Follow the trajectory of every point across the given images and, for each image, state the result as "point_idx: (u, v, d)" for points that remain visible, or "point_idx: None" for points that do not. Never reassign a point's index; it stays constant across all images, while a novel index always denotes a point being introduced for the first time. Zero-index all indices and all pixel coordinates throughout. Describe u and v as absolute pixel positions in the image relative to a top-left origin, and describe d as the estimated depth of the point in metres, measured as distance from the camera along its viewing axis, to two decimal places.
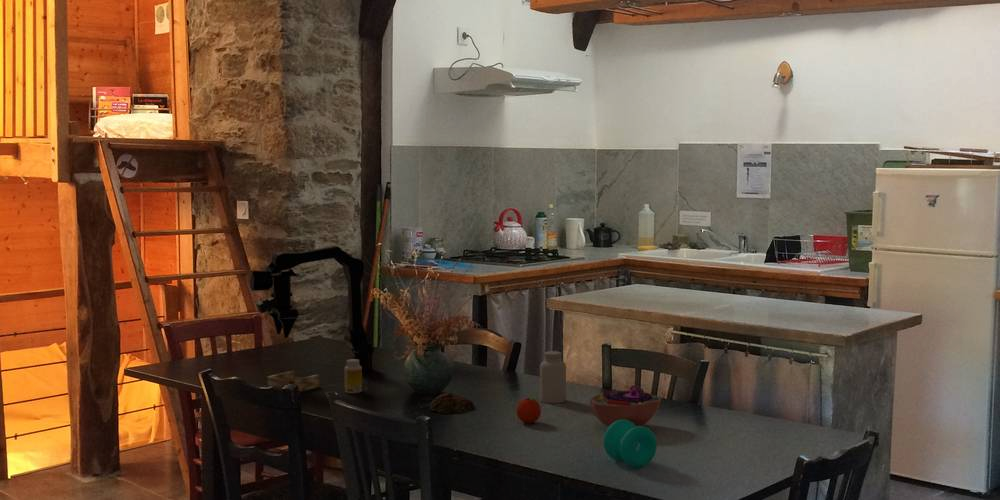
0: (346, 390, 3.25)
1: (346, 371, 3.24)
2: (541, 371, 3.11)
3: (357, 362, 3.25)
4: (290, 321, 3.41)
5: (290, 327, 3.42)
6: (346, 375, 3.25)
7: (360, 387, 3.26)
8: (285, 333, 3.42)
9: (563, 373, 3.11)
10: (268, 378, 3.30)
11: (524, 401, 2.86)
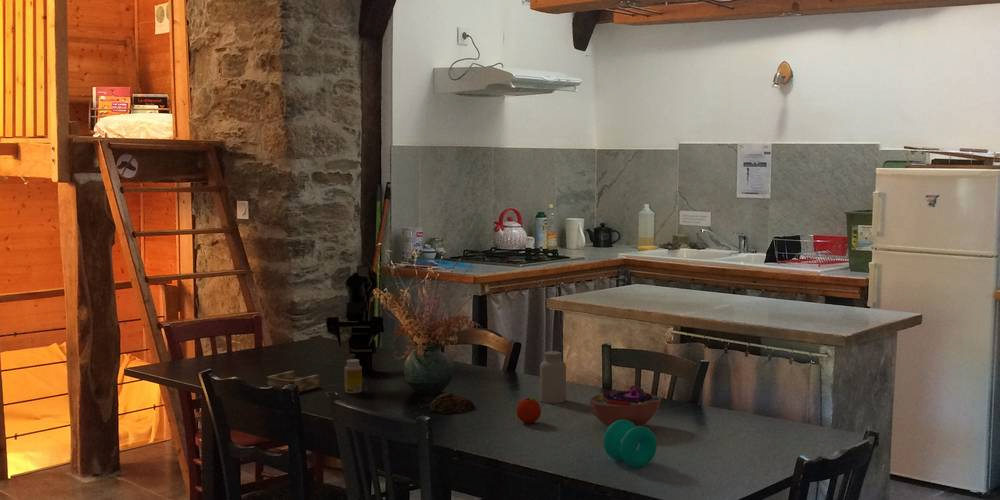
0: (346, 390, 3.25)
1: (346, 371, 3.24)
2: (541, 371, 3.11)
3: (357, 362, 3.25)
4: (373, 333, 3.39)
5: (372, 338, 3.37)
6: (346, 375, 3.25)
7: (360, 387, 3.26)
8: (370, 341, 3.35)
9: (563, 373, 3.11)
10: (268, 378, 3.30)
11: (524, 401, 2.86)
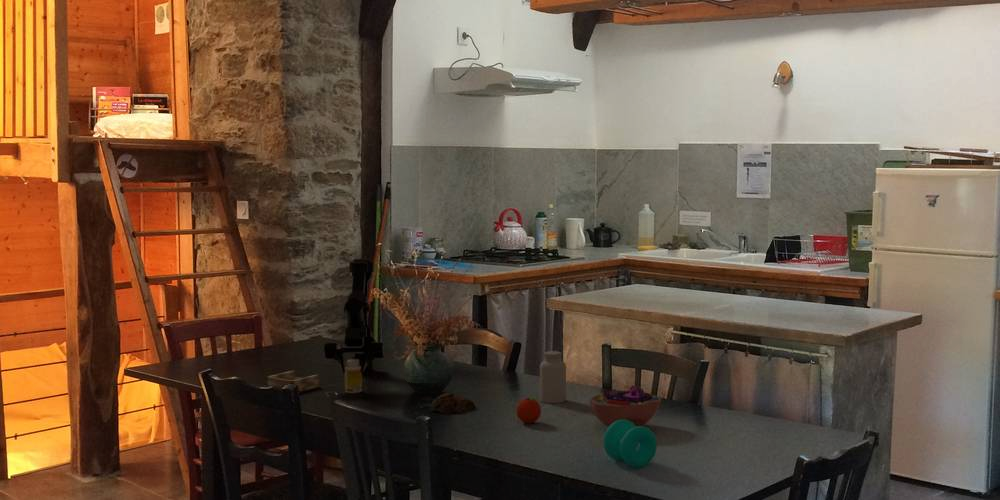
0: (346, 390, 3.25)
1: (346, 371, 3.24)
2: (541, 371, 3.11)
3: (357, 362, 3.25)
4: (367, 359, 3.30)
5: (366, 364, 3.29)
6: (346, 375, 3.25)
7: (360, 387, 3.26)
8: (364, 367, 3.26)
9: (563, 373, 3.11)
10: (268, 378, 3.30)
11: (524, 401, 2.86)
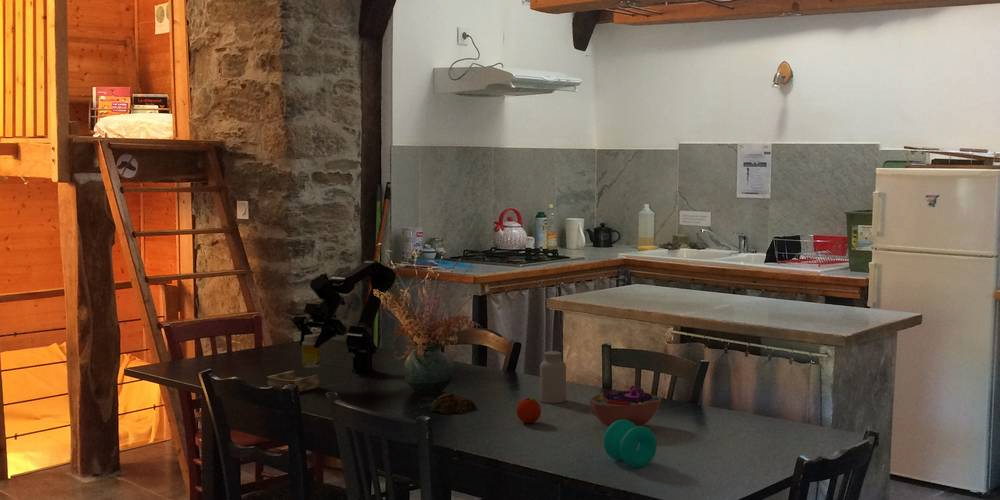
0: None
1: (302, 345, 3.34)
2: (541, 371, 3.11)
3: (312, 337, 3.33)
4: (328, 335, 3.36)
5: (324, 340, 3.35)
6: (302, 349, 3.34)
7: (314, 362, 3.33)
8: (318, 342, 3.33)
9: (563, 373, 3.11)
10: (268, 378, 3.30)
11: (524, 401, 2.86)
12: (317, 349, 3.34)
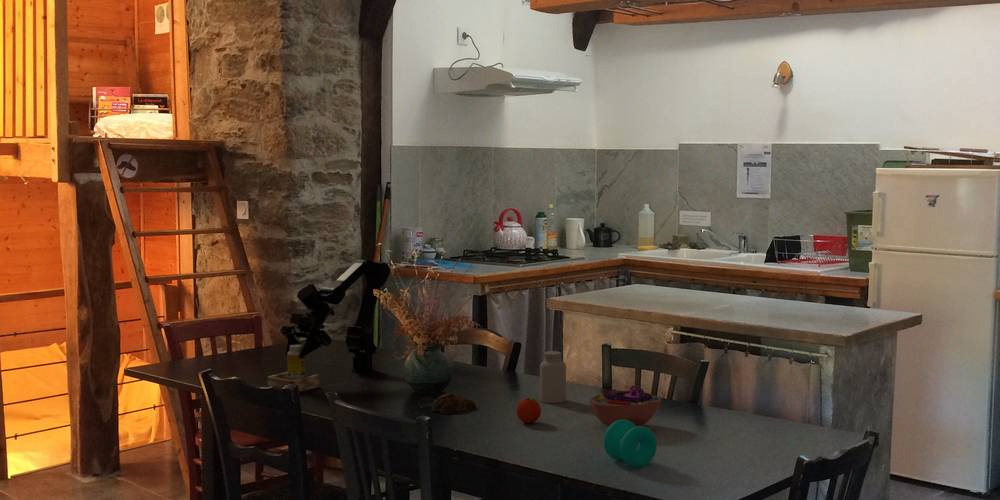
0: None
1: (287, 355, 3.33)
2: (541, 371, 3.11)
3: (296, 348, 3.31)
4: (313, 346, 3.33)
5: (309, 351, 3.33)
6: (287, 359, 3.33)
7: (298, 373, 3.31)
8: (303, 353, 3.31)
9: (563, 373, 3.11)
10: (268, 378, 3.30)
11: (524, 401, 2.86)
12: (302, 359, 3.32)
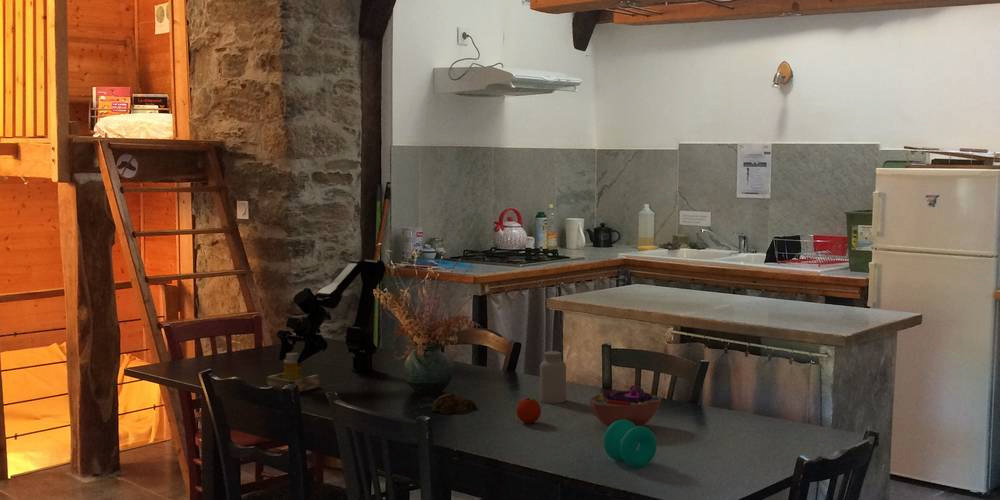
0: None
1: None
2: (541, 371, 3.11)
3: (293, 356, 3.30)
4: (312, 350, 3.31)
5: (308, 356, 3.31)
6: None
7: None
8: (301, 358, 3.29)
9: (563, 373, 3.11)
10: (268, 378, 3.30)
11: (524, 401, 2.86)
12: (298, 367, 3.31)
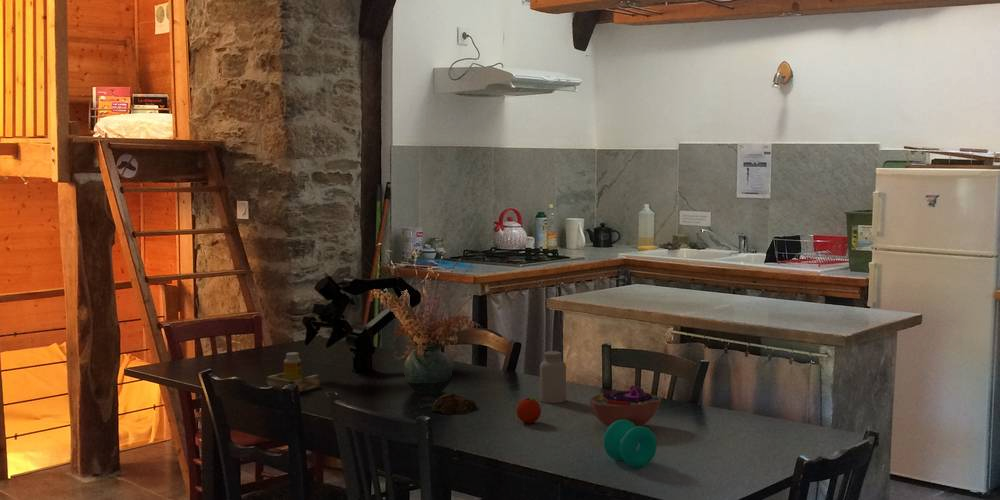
0: None
1: None
2: (541, 371, 3.11)
3: (293, 356, 3.30)
4: (339, 335, 3.44)
5: (336, 340, 3.43)
6: (284, 367, 3.32)
7: None
8: (329, 343, 3.41)
9: (563, 373, 3.11)
10: (268, 378, 3.30)
11: (524, 401, 2.86)
12: (298, 367, 3.31)
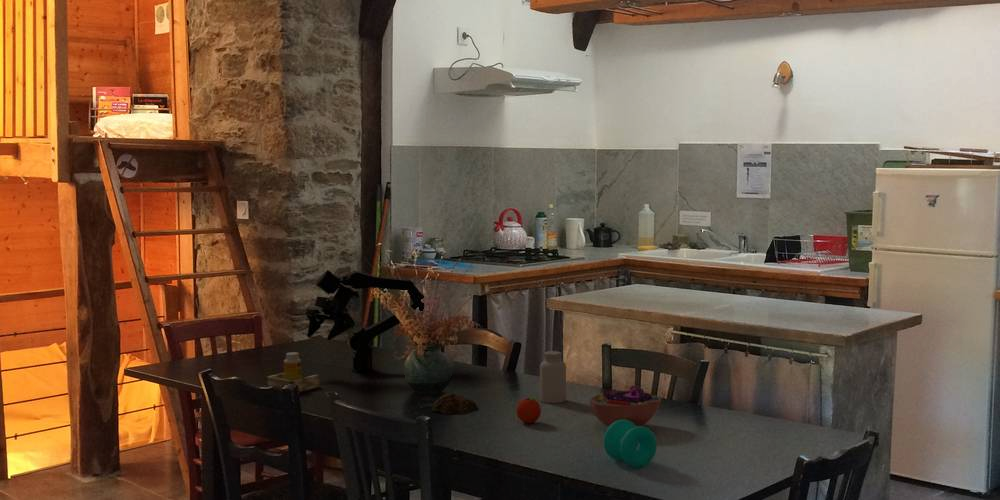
0: None
1: None
2: (541, 371, 3.11)
3: (293, 356, 3.30)
4: (341, 328, 3.47)
5: (337, 333, 3.46)
6: (284, 367, 3.32)
7: None
8: (331, 335, 3.44)
9: (563, 373, 3.11)
10: (268, 378, 3.30)
11: (524, 401, 2.86)
12: (298, 367, 3.31)
